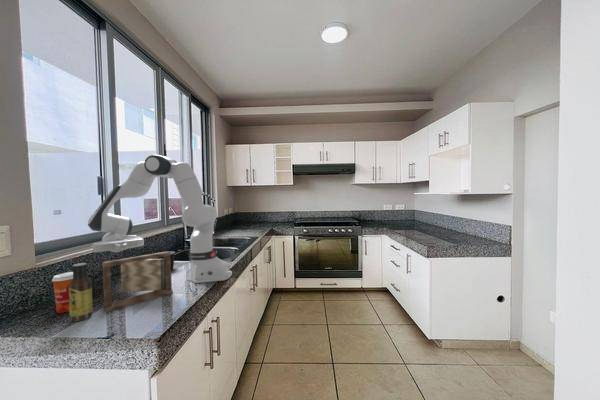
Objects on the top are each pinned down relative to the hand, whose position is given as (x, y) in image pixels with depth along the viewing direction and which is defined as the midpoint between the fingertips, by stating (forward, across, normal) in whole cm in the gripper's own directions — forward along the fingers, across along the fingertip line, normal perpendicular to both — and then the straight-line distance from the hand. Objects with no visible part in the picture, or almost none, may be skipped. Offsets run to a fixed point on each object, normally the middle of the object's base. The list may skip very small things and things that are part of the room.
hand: (122, 246), depth 115 cm
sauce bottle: (+20, -17, +21) cm, 34 cm away
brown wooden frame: (+18, +2, +20) cm, 28 cm away
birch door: (+13, +5, +19) cm, 23 cm away
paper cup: (+7, -20, +21) cm, 30 cm away
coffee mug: (-21, +25, +21) cm, 38 cm away
